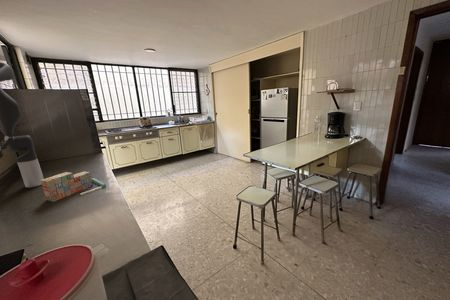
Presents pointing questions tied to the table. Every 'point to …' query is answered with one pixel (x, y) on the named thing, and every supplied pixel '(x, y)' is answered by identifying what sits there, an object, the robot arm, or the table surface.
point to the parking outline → (95, 188)
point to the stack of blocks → (65, 184)
